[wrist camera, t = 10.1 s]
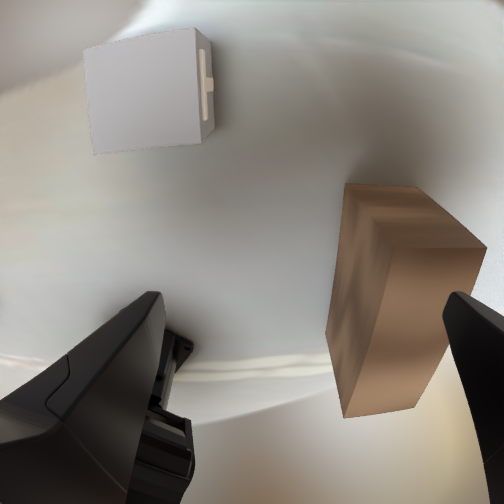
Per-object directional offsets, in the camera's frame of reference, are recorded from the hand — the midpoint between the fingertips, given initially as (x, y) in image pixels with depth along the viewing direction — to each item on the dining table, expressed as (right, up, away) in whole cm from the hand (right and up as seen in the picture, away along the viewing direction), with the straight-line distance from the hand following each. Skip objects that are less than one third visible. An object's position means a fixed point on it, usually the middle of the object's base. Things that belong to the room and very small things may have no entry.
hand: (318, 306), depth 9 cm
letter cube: (-7, +11, +7) cm, 14 cm away
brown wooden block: (+6, +1, +12) cm, 14 cm away
